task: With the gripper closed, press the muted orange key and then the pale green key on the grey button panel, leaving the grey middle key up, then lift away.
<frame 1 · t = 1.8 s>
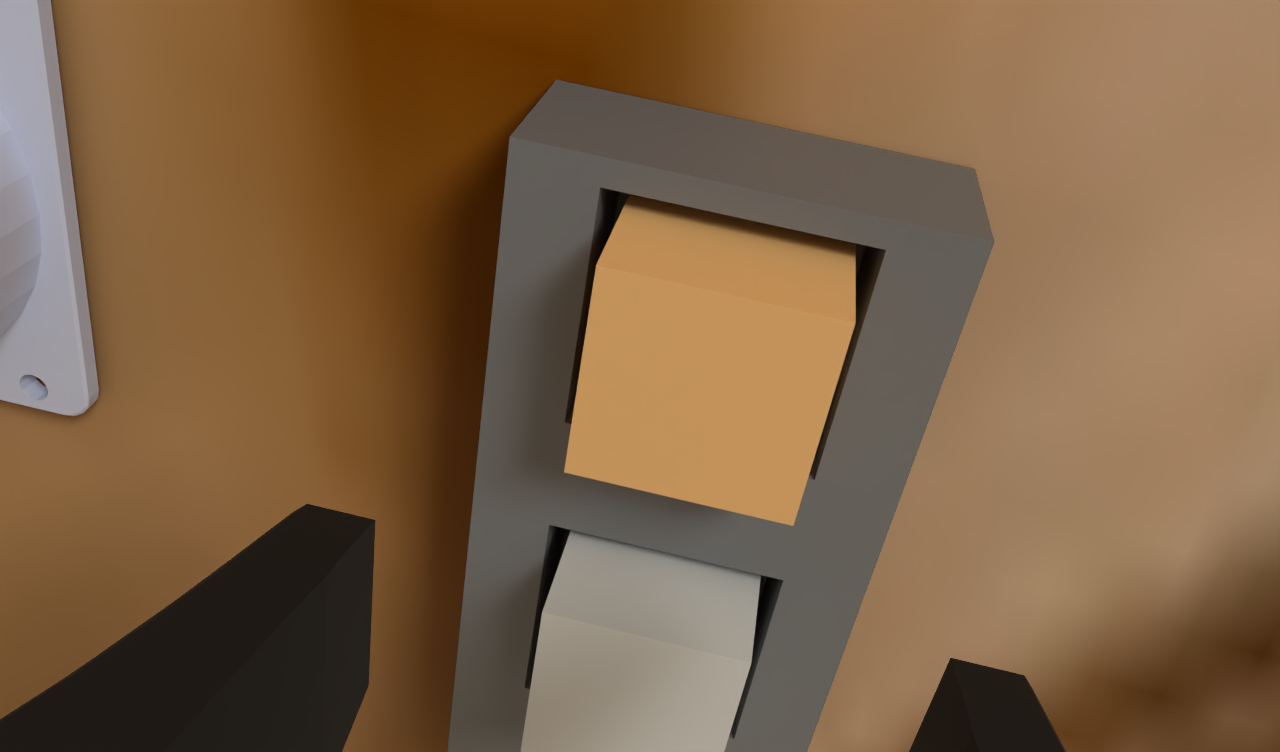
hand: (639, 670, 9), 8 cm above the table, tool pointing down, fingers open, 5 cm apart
grey key: (642, 650, 17), point 3 cm above the table, slide at 0.0 cm
orange key: (711, 353, 14), point 3 cm above the table, slide at 0.0 cm
grey button panel: (668, 537, 20), on the table
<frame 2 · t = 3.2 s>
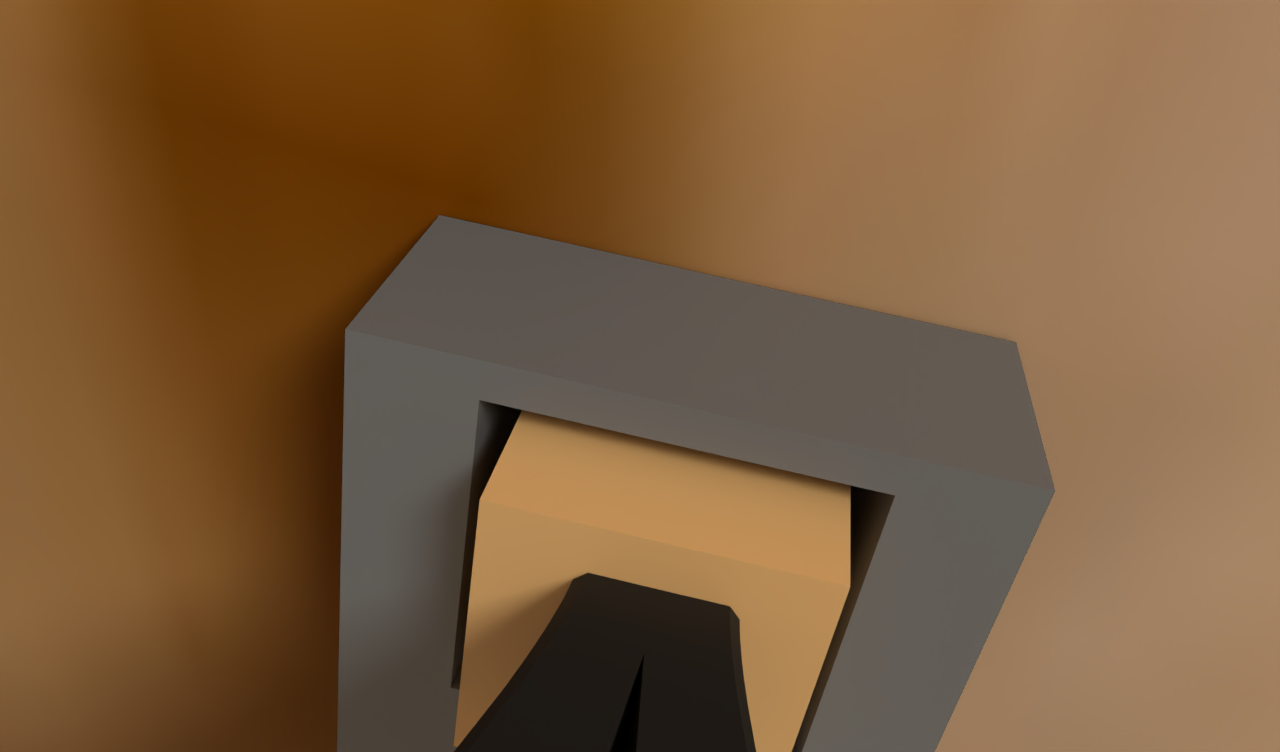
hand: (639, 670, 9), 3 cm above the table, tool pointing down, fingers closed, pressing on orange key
orange key: (654, 581, 10), point 2 cm above the table, slide at 0.6 cm, touching gripper
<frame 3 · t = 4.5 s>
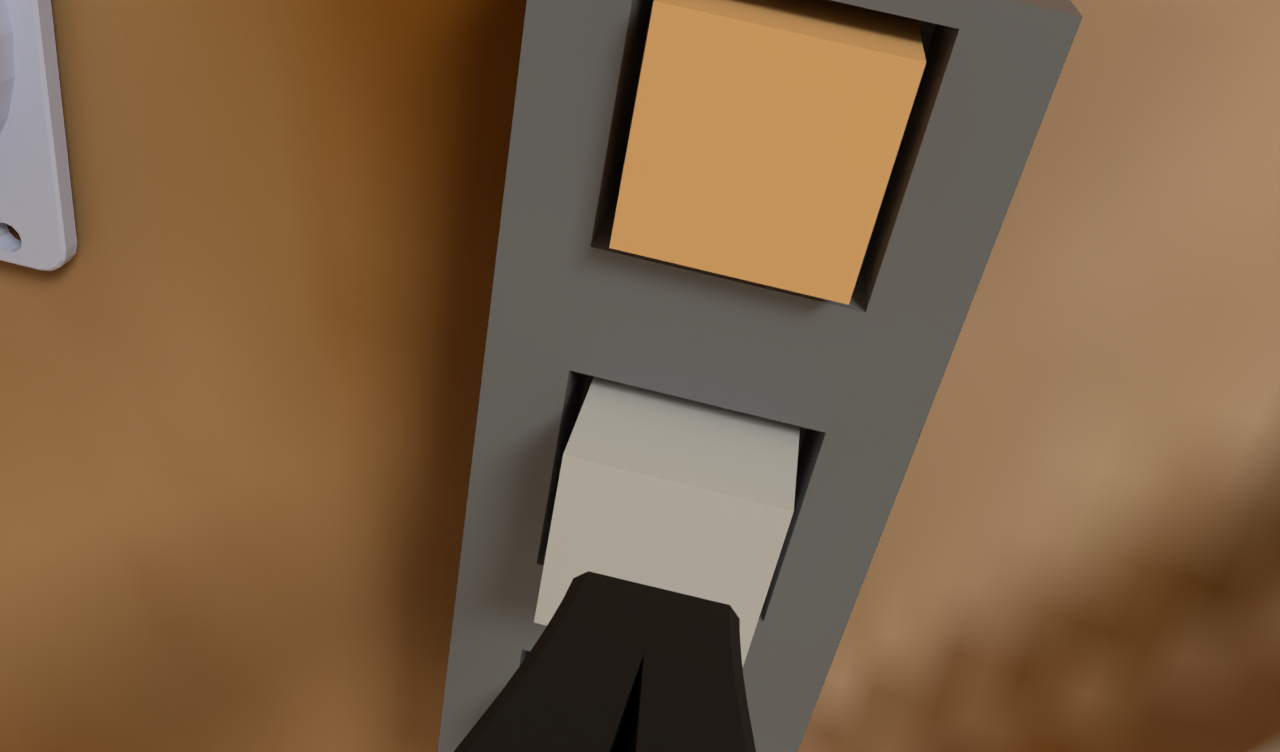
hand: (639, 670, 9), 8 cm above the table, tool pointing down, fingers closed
grey key: (668, 515, 16), point 3 cm above the table, slide at 0.0 cm
orange key: (764, 128, 14), point 2 cm above the table, slide at 1.0 cm
grey button panel: (693, 410, 18), on the table
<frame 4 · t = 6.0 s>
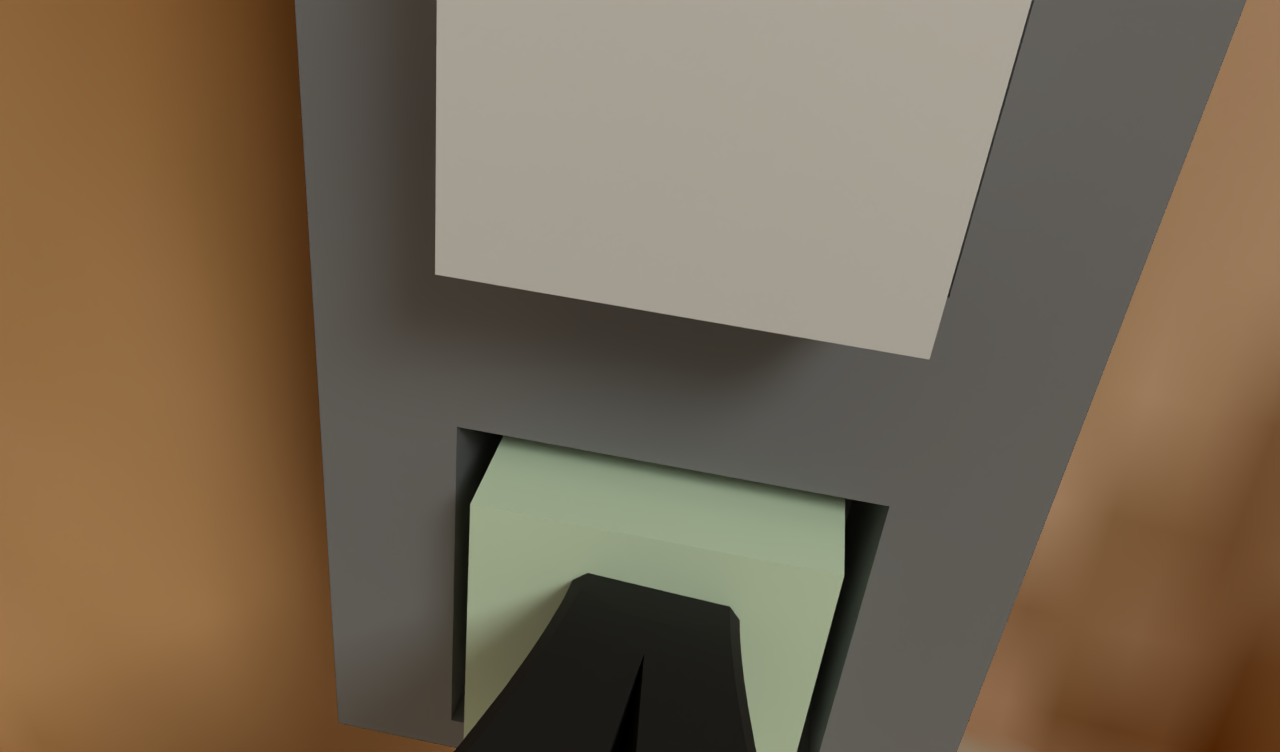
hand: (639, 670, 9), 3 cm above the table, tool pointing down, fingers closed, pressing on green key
grey key: (733, 14, 7), point 3 cm above the table, slide at 0.0 cm
green key: (656, 579, 10), point 2 cm above the table, slide at 0.9 cm, touching gripper
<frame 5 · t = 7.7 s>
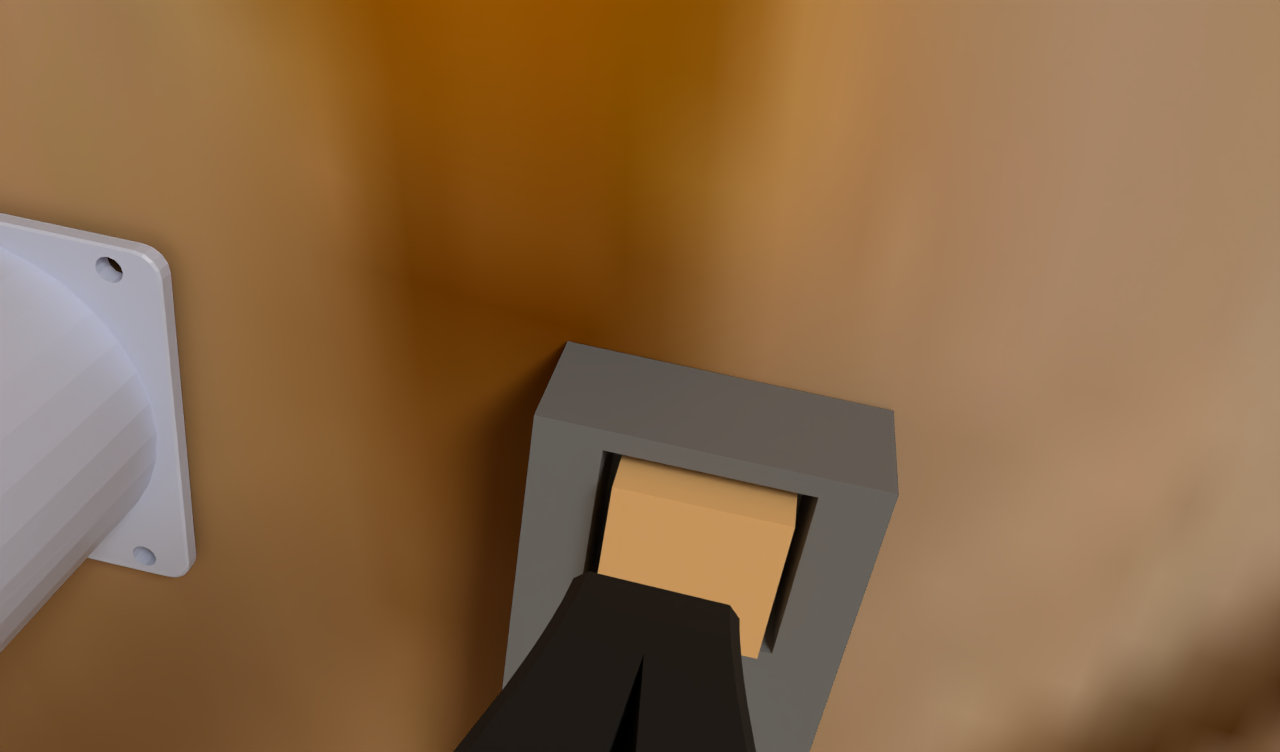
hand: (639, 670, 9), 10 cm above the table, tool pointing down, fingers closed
orange key: (695, 531, 19), point 2 cm above the table, slide at 1.0 cm
grey button panel: (662, 671, 24), on the table
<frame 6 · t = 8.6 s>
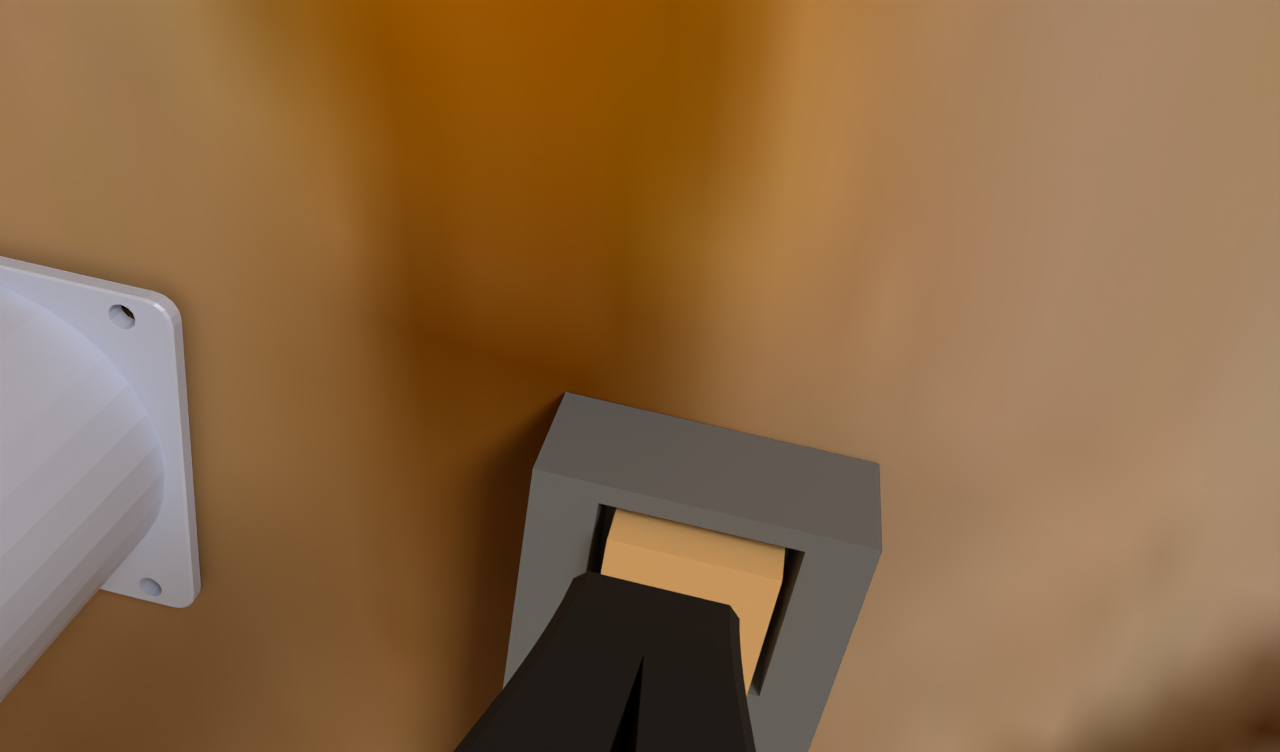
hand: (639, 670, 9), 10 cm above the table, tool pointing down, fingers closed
orange key: (687, 578, 20), point 2 cm above the table, slide at 1.0 cm
grey button panel: (653, 705, 25), on the table
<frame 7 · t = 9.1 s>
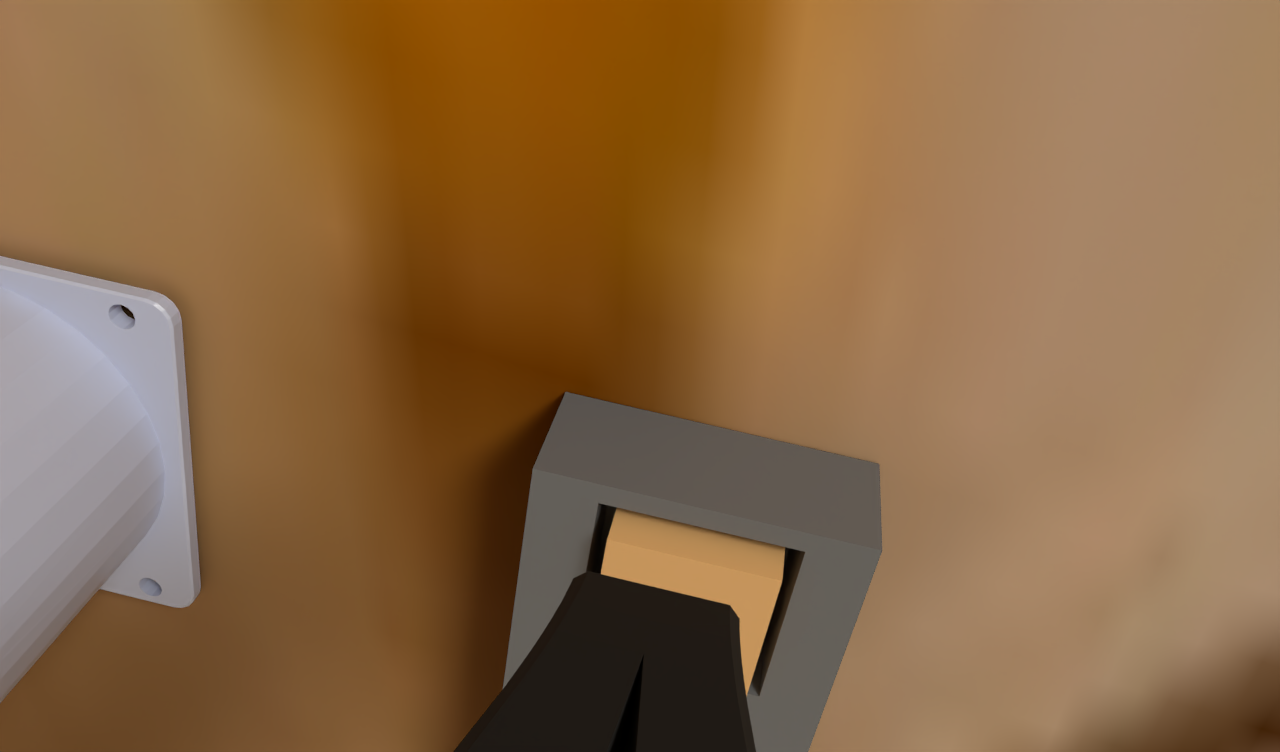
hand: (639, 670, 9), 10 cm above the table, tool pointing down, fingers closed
orange key: (687, 578, 20), point 2 cm above the table, slide at 1.0 cm
grey button panel: (653, 705, 25), on the table
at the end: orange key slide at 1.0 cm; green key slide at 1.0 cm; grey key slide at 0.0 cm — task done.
